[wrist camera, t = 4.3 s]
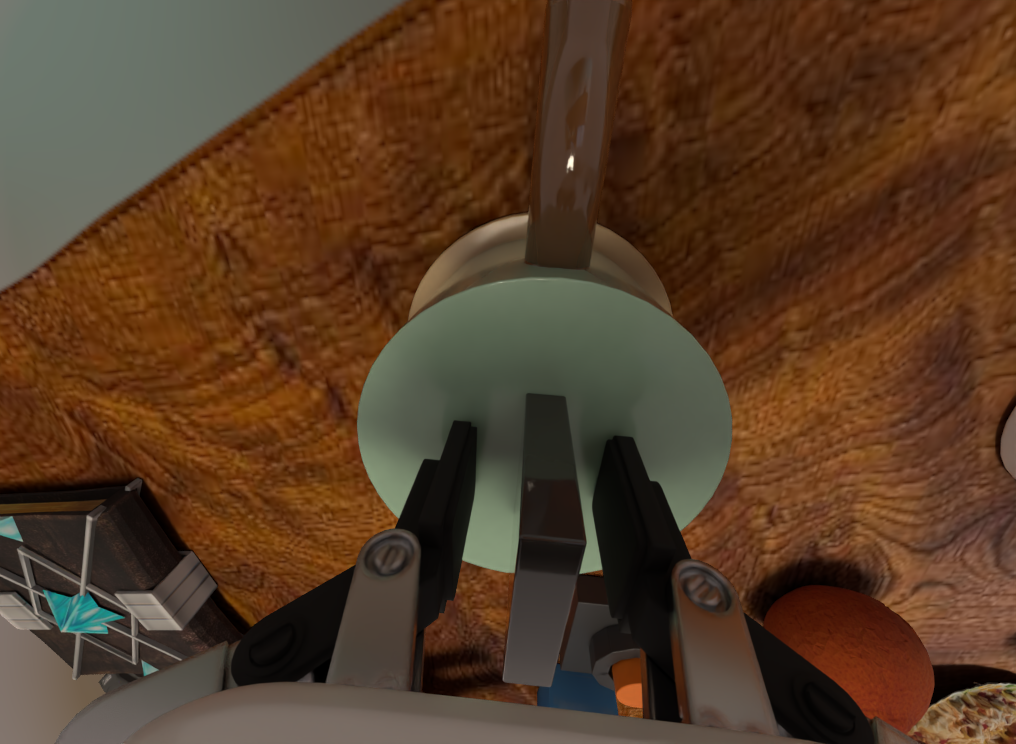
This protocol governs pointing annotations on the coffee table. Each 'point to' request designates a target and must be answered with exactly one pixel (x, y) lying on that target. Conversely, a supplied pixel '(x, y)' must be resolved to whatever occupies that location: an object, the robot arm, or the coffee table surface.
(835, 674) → the fruit
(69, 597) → the book
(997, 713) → the food
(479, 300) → the pot
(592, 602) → the dark grey button base
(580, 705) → the perfume bottle
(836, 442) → the coffee table surface
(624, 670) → the timer button
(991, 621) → the coffee table surface
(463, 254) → the trivet
